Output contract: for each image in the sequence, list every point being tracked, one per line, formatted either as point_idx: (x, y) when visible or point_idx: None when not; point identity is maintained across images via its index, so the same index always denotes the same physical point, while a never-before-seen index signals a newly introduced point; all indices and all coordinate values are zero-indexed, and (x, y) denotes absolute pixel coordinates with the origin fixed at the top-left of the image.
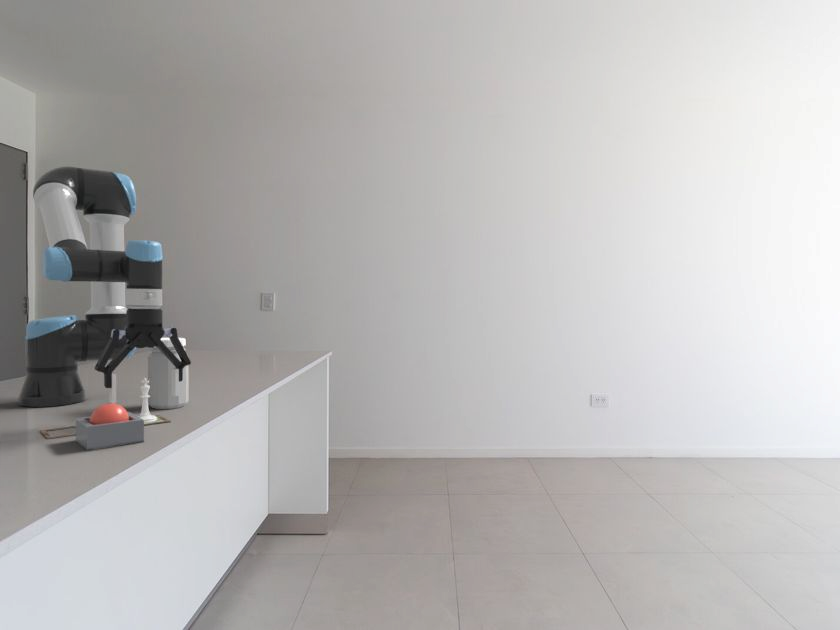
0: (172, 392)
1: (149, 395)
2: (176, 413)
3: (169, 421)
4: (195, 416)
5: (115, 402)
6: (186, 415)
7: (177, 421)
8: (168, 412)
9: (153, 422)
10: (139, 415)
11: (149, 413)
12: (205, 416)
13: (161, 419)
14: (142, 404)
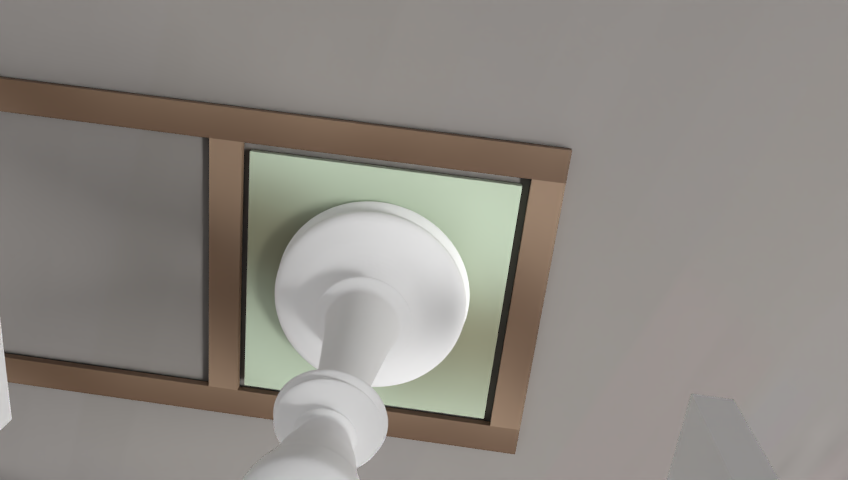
0: (692, 442)
1: (370, 453)
2: (758, 162)
3: (505, 450)
4: (780, 407)
5: (1, 420)
6: (758, 316)
7: (564, 463)
8: (738, 49)
9: (394, 403)
10: (323, 285)
11: (388, 358)
12: (834, 464)
13: (492, 351)
14: (319, 366)
